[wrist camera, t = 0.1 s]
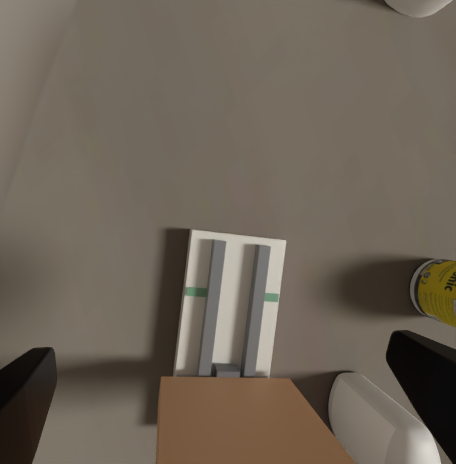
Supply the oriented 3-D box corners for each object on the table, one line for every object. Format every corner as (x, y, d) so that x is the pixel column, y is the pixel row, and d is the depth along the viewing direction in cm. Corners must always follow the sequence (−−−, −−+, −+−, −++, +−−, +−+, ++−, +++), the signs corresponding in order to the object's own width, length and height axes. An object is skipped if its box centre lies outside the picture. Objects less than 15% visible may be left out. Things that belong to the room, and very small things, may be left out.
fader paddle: (280, 397, 22) (425, 622, 10) (158, 397, 21) (145, 673, 8) (284, 366, 22) (434, 551, 10) (162, 363, 21) (155, 587, 8)
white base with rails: (254, 420, 25) (265, 448, 22) (167, 422, 23) (167, 451, 20) (276, 238, 24) (291, 241, 21) (190, 228, 23) (193, 230, 20)
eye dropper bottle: (309, 419, 26) (430, 589, 14) (342, 362, 26) (487, 479, 14) (347, 440, 26) (492, 617, 15) (379, 384, 27) (544, 512, 15)
